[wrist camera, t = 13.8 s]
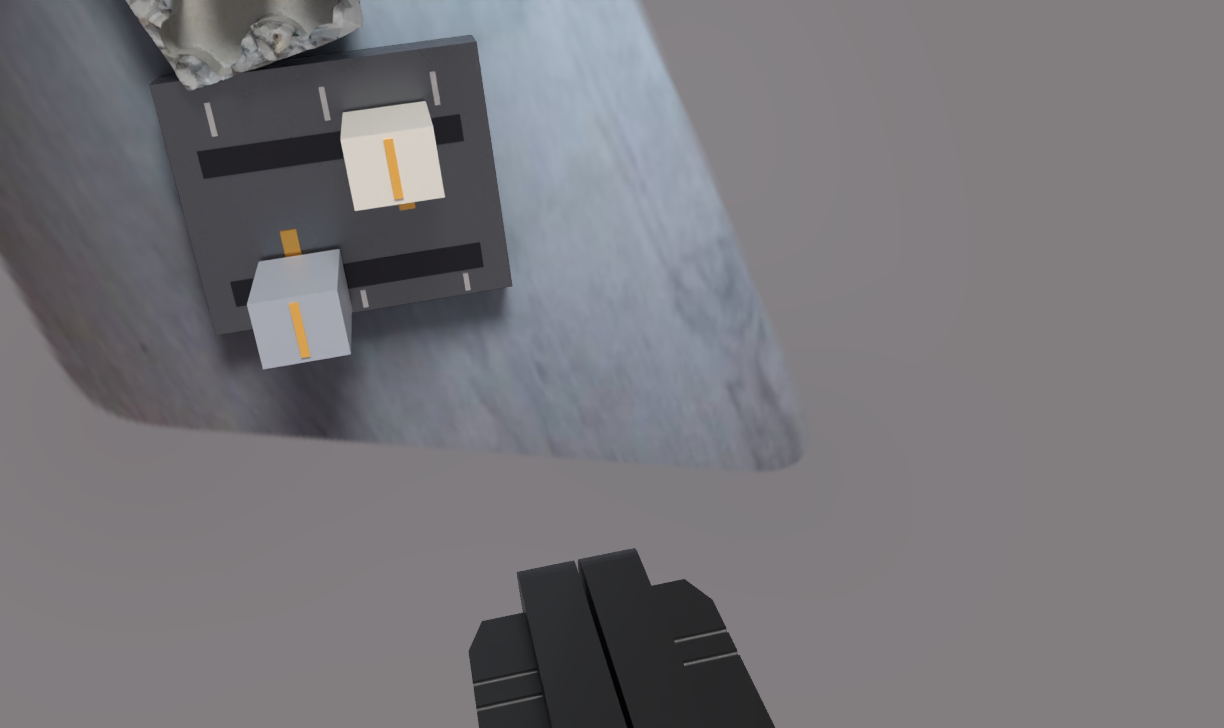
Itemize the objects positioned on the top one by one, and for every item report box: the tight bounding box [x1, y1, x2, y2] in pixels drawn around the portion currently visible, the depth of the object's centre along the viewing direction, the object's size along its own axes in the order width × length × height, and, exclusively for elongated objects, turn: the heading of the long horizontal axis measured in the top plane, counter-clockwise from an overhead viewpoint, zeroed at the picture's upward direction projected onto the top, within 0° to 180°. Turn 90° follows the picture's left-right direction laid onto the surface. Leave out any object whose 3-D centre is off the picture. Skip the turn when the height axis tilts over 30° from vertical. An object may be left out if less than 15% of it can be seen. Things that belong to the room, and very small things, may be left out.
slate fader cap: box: [247, 249, 352, 369], centre depth 41 cm, size 2×3×5 cm
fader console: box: [150, 35, 512, 335], centre depth 43 cm, size 10×12×2 cm
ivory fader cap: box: [340, 101, 445, 211], centre depth 39 cm, size 2×3×5 cm
